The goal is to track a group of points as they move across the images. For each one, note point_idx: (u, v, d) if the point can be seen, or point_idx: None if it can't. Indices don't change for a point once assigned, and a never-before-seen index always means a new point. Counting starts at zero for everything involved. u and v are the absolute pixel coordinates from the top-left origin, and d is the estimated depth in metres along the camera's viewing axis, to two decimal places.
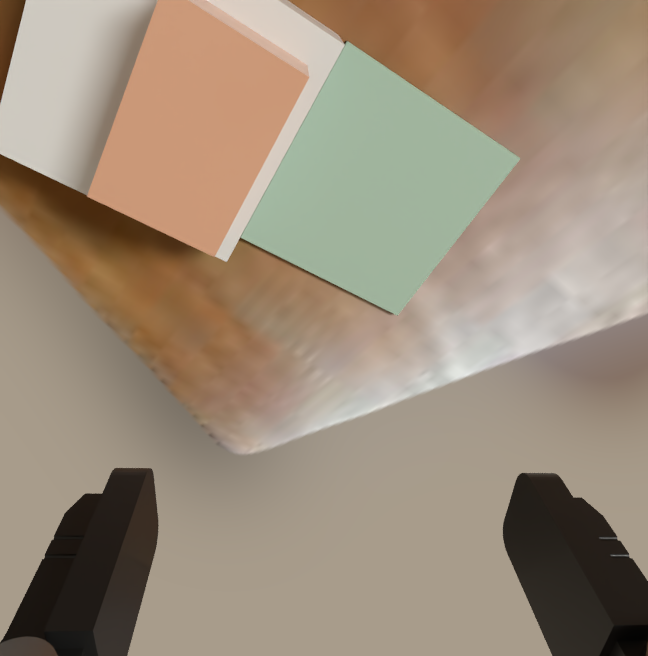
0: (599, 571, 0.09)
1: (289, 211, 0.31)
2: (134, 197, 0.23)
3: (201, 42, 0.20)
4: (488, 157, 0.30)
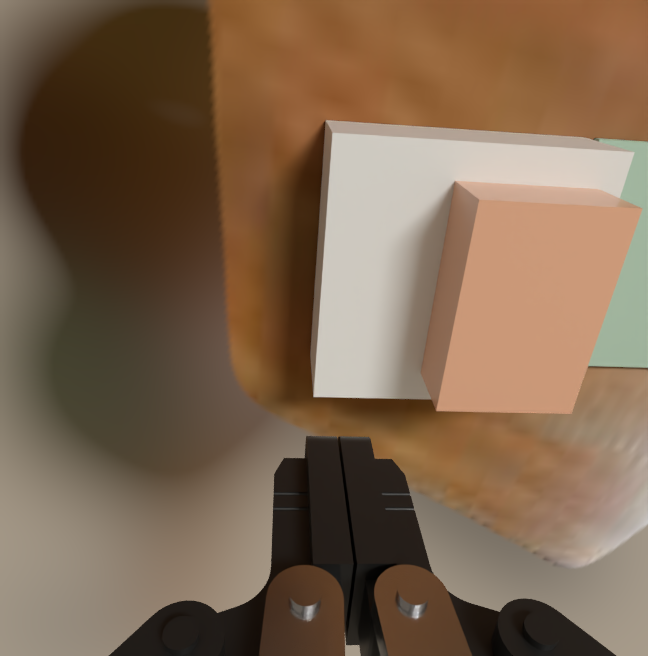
0: (367, 519, 0.10)
1: None
2: (481, 393, 0.22)
3: (524, 230, 0.19)
4: None
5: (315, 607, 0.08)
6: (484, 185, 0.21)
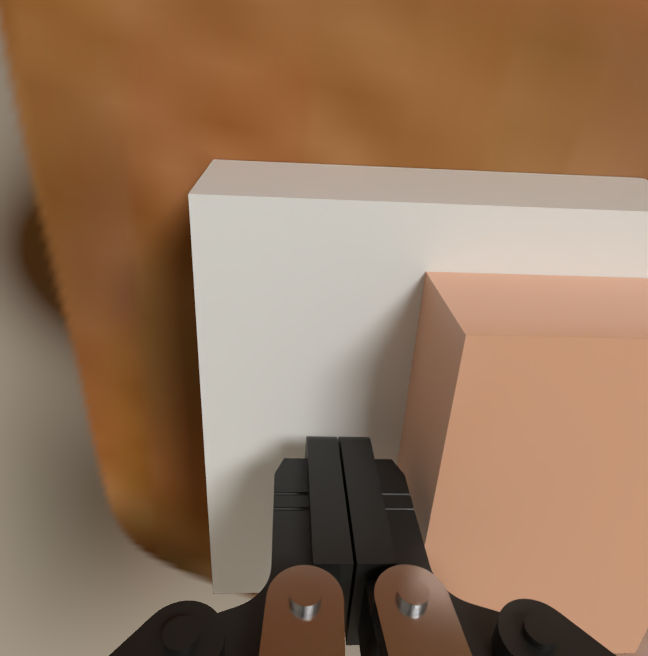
0: (366, 519, 0.10)
1: None
2: None
3: (558, 386, 0.10)
4: None
5: (315, 608, 0.08)
6: (478, 282, 0.11)
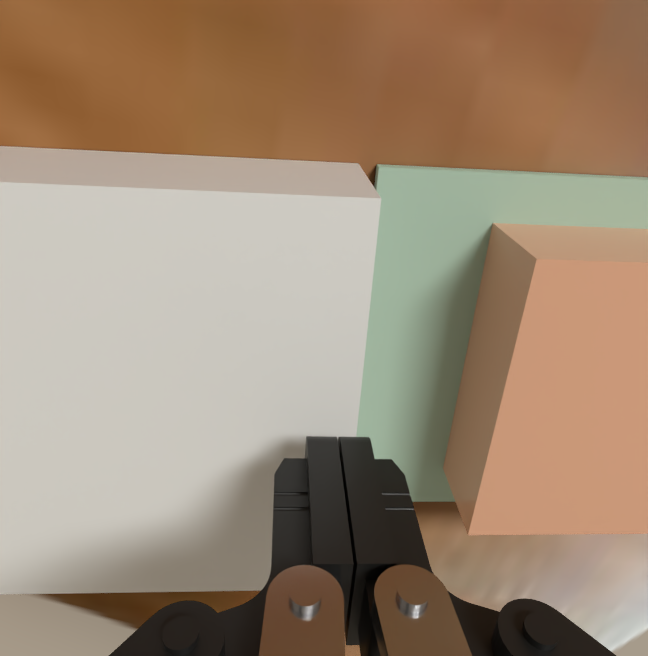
0: (366, 519, 0.10)
1: (401, 440, 0.18)
2: None
3: None
4: None
5: (315, 607, 0.08)
6: None
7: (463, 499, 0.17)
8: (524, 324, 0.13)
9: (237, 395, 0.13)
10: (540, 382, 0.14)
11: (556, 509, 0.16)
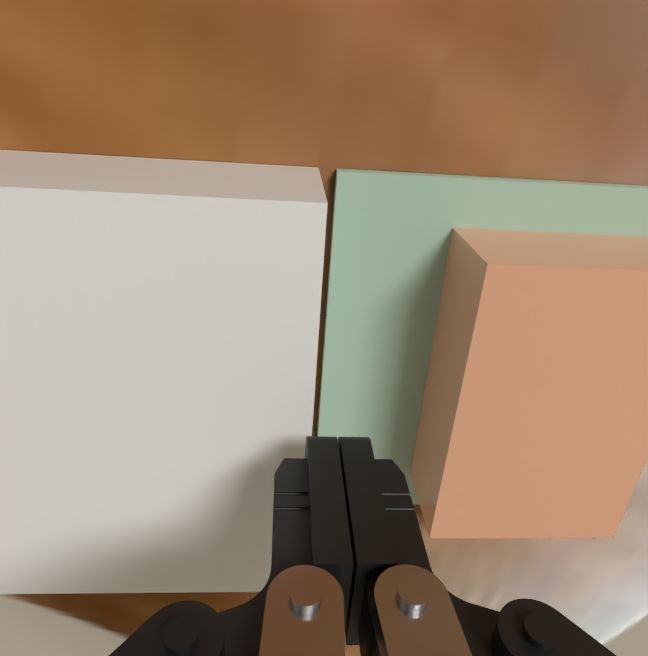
0: (367, 519, 0.10)
1: None
2: None
3: None
4: None
5: (315, 608, 0.08)
6: None
7: (425, 503, 0.17)
8: (477, 328, 0.13)
9: (191, 398, 0.13)
10: (495, 386, 0.14)
11: (516, 513, 0.16)
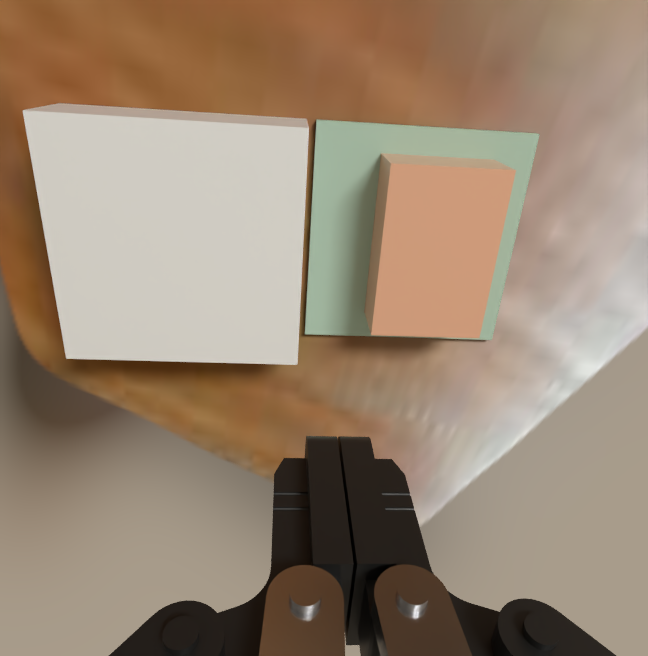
0: (366, 519, 0.10)
1: (337, 290, 0.31)
2: None
3: None
4: (505, 150, 0.28)
5: (315, 608, 0.08)
6: (491, 167, 0.26)
7: (370, 318, 0.29)
8: (388, 200, 0.25)
9: (240, 234, 0.25)
10: (401, 234, 0.26)
11: (420, 319, 0.28)
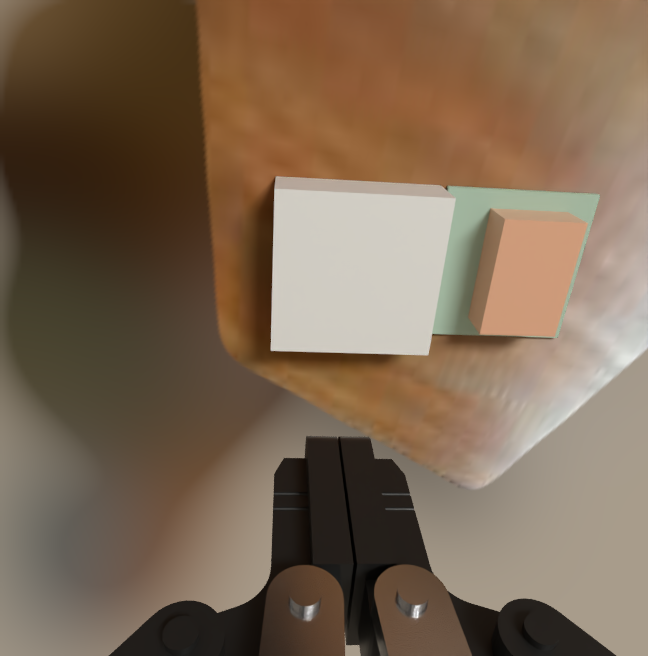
0: (366, 519, 0.10)
1: (450, 302, 0.43)
2: None
3: None
4: (576, 205, 0.40)
5: (315, 608, 0.08)
6: (570, 220, 0.38)
7: (477, 322, 0.41)
8: (501, 242, 0.38)
9: (401, 266, 0.37)
10: (507, 265, 0.38)
11: (515, 323, 0.41)
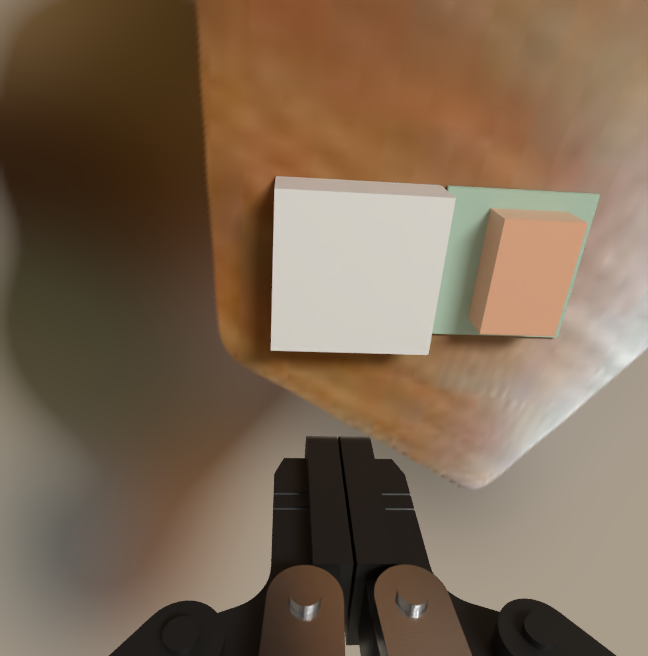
0: (367, 519, 0.10)
1: (450, 302, 0.43)
2: None
3: None
4: (576, 205, 0.40)
5: (315, 607, 0.08)
6: (570, 220, 0.38)
7: (477, 322, 0.41)
8: (501, 242, 0.38)
9: (401, 266, 0.37)
10: (507, 265, 0.38)
11: (514, 323, 0.41)
